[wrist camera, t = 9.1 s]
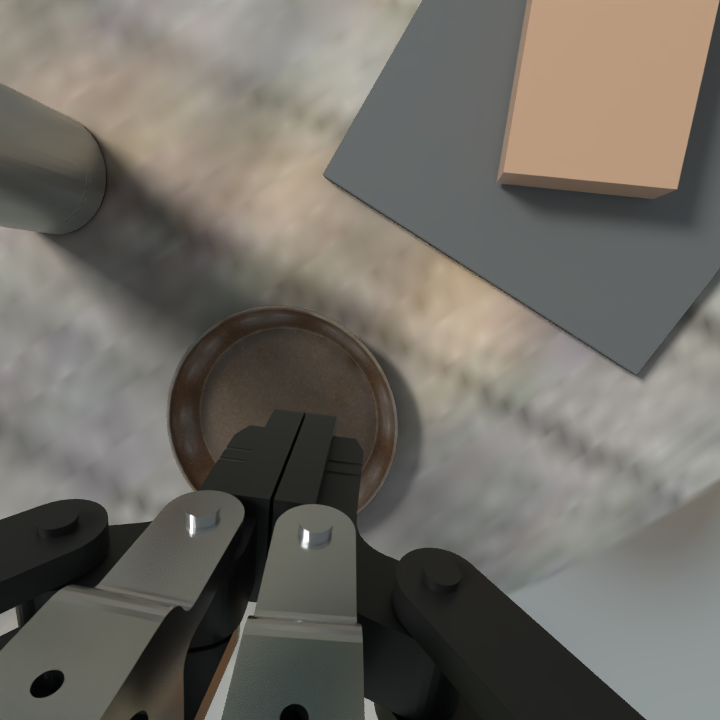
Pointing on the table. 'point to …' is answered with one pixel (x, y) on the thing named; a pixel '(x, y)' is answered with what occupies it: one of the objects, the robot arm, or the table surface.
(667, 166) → the tan rectangular block
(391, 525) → the table surface
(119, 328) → the table surface
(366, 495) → the plant saucer
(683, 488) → the table surface
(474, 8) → the mat
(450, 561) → the robot arm
